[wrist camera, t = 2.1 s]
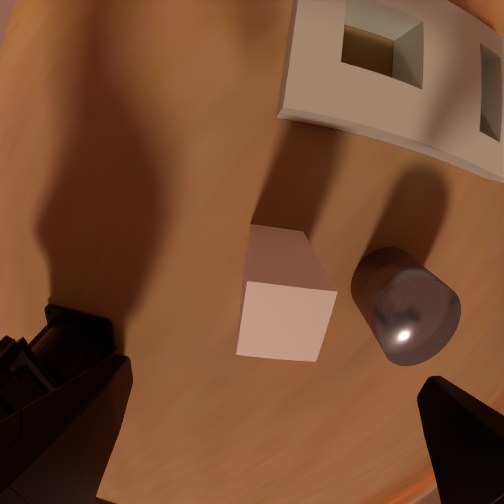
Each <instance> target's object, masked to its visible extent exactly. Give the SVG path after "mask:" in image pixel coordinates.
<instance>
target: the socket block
mask: <svg viewBox="0 0 504 504" xmlns="http://www.w3.org/2000/svg"><path fill="white" fill-rule="evenodd" d="M344 25H347V26H351V27H354V28H358V29H361V30H364V31H367V32H370V33H373V34H376V35H379V36H382V37H385V38H387V39H390V40H393V41H394V47H393V66H392V78H391V77H388V76H385V75H382V74H379V73H376V72H373V71H370V70H367V69H363V68H360V67H357V66H353V65H350V64H346V63H342V62H341V55H342V45H343V34H344ZM276 118H282V119H288V120H294V121H299V122H305V123H310V124H315V125H320V126H324V127H329V128H333V129H338V130H342V131H346V132H350V133H354V134H358V135H362V136H366V137H370V138H373V139H377V140H381V141H384V142H387V143H391V144H394V145H397V146H401V147H404V148H407V149H410V150H413V151H416V152H419V153H422V154H425V155H428V156H430V157H433V158H436V159H439V160H441V161H444V162H447V163H449V164H452V165H454V166H457V167H459V168H462V169H464V170H467V171H469V172H472V173H474V174H476V175H478V176H481V177H483V178H485V179H490V180H494V181H498V182H502V183H504V38H503V37H502V36H501V35H499V34H498V33H497V32H495V31H494V30H493V29H491V28H490V27H489V26H487V25H486V24H484V23H483V22H481V21H480V20H478V19H477V18H476V17H474V16H472V15H471V14H469V13H468V12H466V11H465V10H463V9H461V8H460V7H458V6H456V5H455V4H453V3H451V2H449V1H448V0H293V5H292V12H291V19H290V26H289V33H288V40H287V47H286V54H285V61H284V68H283V75H282V82H281V88H280V95H279V102H278V109H277V116H276Z"/></svg>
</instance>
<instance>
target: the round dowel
mask: <svg viewBox="0 0 504 504" xmlns="http://www.w3.org/2000/svg"><path fill="white" fill-rule="evenodd" d="M351 294H352V298H353V300H354V302H355V304H356V305H357V307H358V309H359V310H360V312H361V314H362V315H363V317H364V319H365V320H366V322H367V324H368V325H369V327H370V329H371V330H372V332H373V334H374V336H375V337H376V339H377V341H378V342H379V344H380V346H381V348H382V349H383V351H384V353H385V355H386V356H387V358H388V359H389V360H390V361H391V362H393V363H394V364H397V365H401V366H412V365H416V364H419V363H422V362H424V361H426V360H428V359H430V358H432V357H433V356H434V355H436V354H437V353H438V352H440V351H441V350H442V349H443V348H444V347H445V345H446V344H447V343H448V342H449V341H450V339H451V338H452V336H453V334H454V333H455V331H456V329H457V326H458V323H459V320H460V315H461V305H460V300H459V298H458V296H457V294H456V293H455V292H454V291H453V290H452V289H451V288H449V287H448V286H447V285H446V284H445V283H443V282H442V281H441V280H440V279H439V278H437V277H436V276H435V275H434V274H432V273H431V272H430V271H429V270H427V269H426V268H425V267H424V266H422V265H421V264H420V263H419V262H417V261H416V260H415V259H413V258H412V257H411V256H410V255H408V254H407V253H406V252H404V251H403V250H401V249H398V248H394V247H385V248H381V249H378V250H376V251H373V252H372V253H370V254H369V255H367V256H366V257H365V258H364V259H363V260H362V261H361V262H360V264H359V265H358V266H357V268H356V270H355V272H354V274H353V277H352V281H351Z"/></svg>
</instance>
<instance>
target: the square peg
mask: <svg viewBox="0 0 504 504" xmlns="http://www.w3.org/2000/svg"><path fill="white" fill-rule="evenodd" d="M336 296H337V290H336V288H335V286H334V284H333V283H332V281H331V279H330V277H329V275H328V274H327V272H326V270H325V268H324V267H323V265H322V263H321V261H320V260H319V258H318V256H317V254H316V253H315V251H314V249H313V248H312V246H311V244H310V242H309V241H308V239H307V237H306V236H305V234H304V232H303V231H297V230H290V229H283V228H276V227H269V226H262V225H255V224H250V228H249V235H248V242H247V249H246V256H245V263H244V270H243V280H242V292H241V303H240V315H239V327H238V339H237V352H236V355H243V356H252V357H262V358H273V359H284V360H298V361H314V362H316V360H317V357H318V354H319V351H320V348H321V345H322V342H323V339H324V336H325V333H326V329H327V326H328V323H329V320H330V316H331V313H332V310H333V306H334V303H335V299H336Z"/></svg>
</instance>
